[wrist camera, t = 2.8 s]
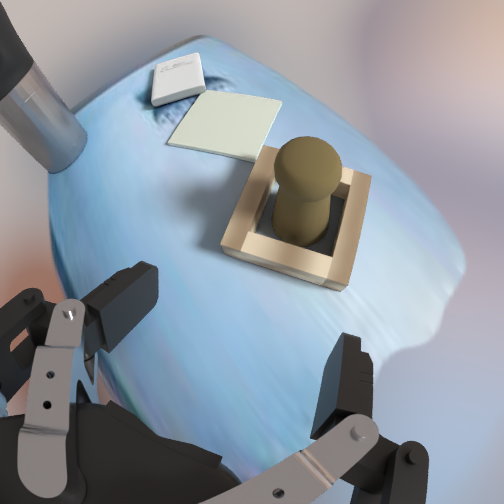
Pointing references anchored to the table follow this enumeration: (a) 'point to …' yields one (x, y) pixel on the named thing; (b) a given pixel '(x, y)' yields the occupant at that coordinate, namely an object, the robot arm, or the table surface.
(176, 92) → the external hard drive
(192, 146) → the mat
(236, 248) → the holder
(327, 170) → the cork
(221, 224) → the table surface
